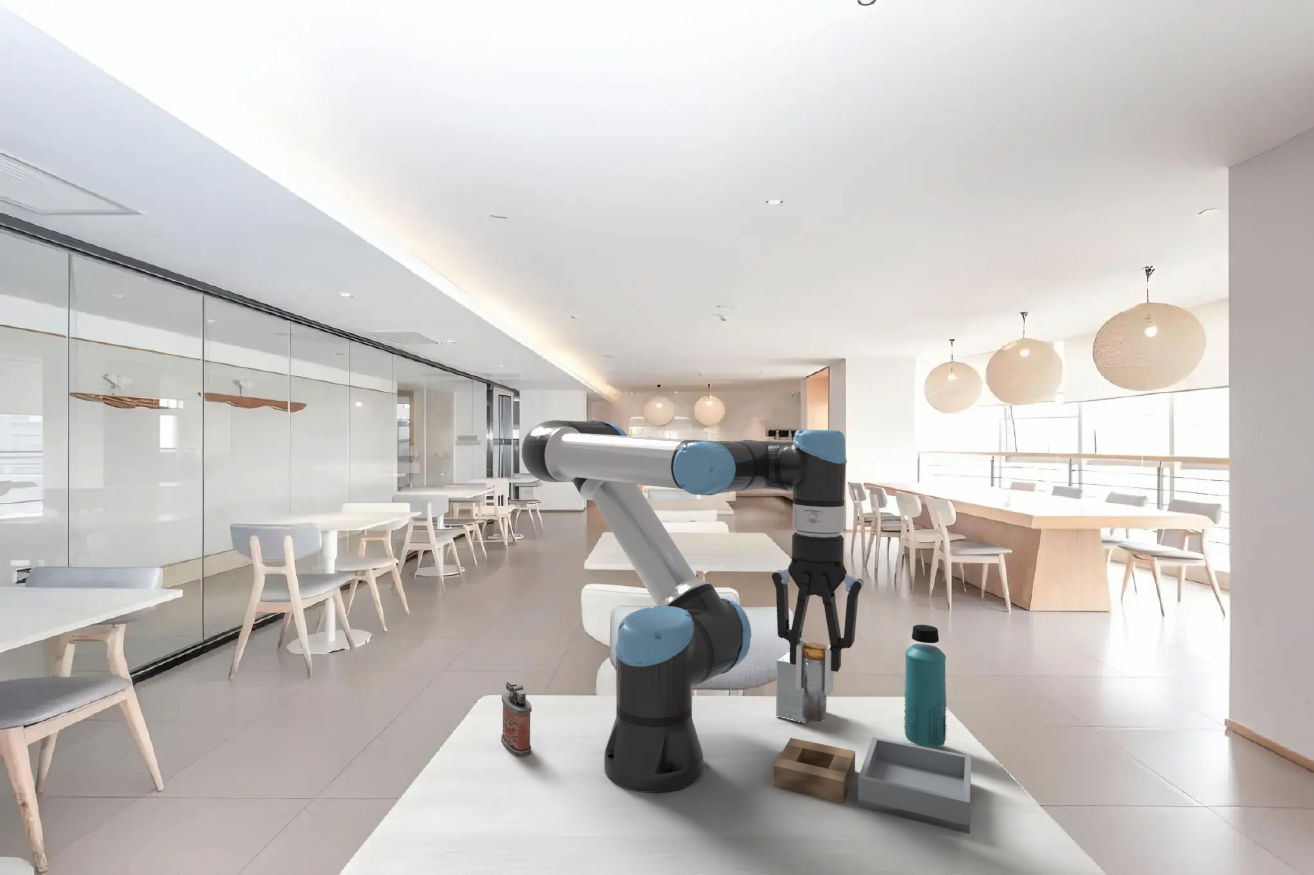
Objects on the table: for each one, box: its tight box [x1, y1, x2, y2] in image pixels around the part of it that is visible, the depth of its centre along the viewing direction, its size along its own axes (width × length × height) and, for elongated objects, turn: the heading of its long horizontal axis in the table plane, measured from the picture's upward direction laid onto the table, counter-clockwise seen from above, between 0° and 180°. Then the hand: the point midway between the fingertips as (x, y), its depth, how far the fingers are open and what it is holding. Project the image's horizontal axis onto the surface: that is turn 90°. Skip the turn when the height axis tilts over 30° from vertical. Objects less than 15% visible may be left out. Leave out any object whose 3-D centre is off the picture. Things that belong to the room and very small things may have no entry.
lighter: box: [500, 679, 533, 758], centre depth 110 cm, size 8×3×10 cm, turn 34°
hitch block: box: [772, 737, 856, 803], centre depth 101 cm, size 10×10×3 cm
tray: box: [857, 736, 972, 834], centre depth 96 cm, size 14×14×4 cm
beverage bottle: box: [903, 624, 948, 748], centre depth 111 cm, size 6×7×20 cm
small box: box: [775, 650, 808, 724], centre depth 124 cm, size 8×6×10 cm
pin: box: [802, 642, 828, 722], centre depth 101 cm, size 4×4×10 cm
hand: (814, 688), depth 101 cm, fingers closed on pin, 4 cm apart
